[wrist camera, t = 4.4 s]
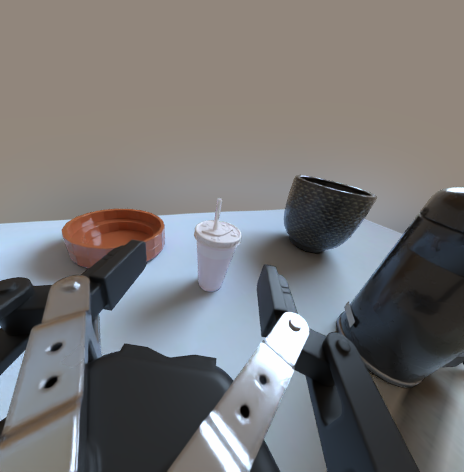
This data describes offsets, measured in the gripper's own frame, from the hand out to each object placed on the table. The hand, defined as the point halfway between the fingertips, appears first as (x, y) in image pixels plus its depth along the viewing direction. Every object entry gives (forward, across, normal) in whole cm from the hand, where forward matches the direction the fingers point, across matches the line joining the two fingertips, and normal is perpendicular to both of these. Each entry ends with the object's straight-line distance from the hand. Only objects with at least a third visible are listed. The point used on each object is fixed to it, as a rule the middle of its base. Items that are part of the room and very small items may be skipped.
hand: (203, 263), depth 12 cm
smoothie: (+11, 0, +13) cm, 17 cm away
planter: (+32, -23, +13) cm, 41 cm away
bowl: (+16, +17, +13) cm, 27 cm away
